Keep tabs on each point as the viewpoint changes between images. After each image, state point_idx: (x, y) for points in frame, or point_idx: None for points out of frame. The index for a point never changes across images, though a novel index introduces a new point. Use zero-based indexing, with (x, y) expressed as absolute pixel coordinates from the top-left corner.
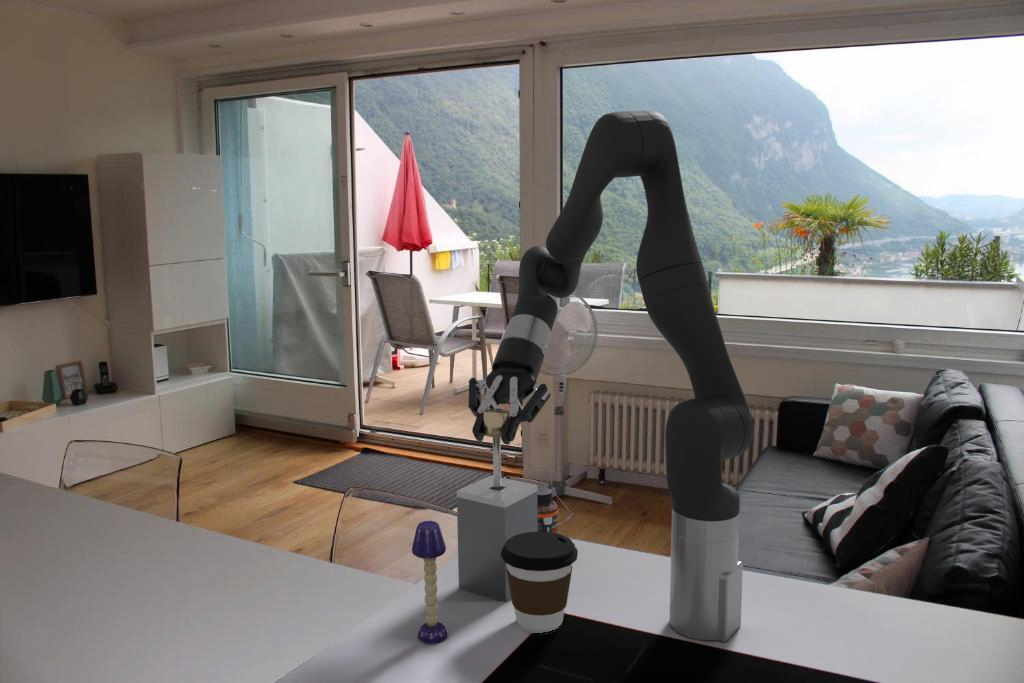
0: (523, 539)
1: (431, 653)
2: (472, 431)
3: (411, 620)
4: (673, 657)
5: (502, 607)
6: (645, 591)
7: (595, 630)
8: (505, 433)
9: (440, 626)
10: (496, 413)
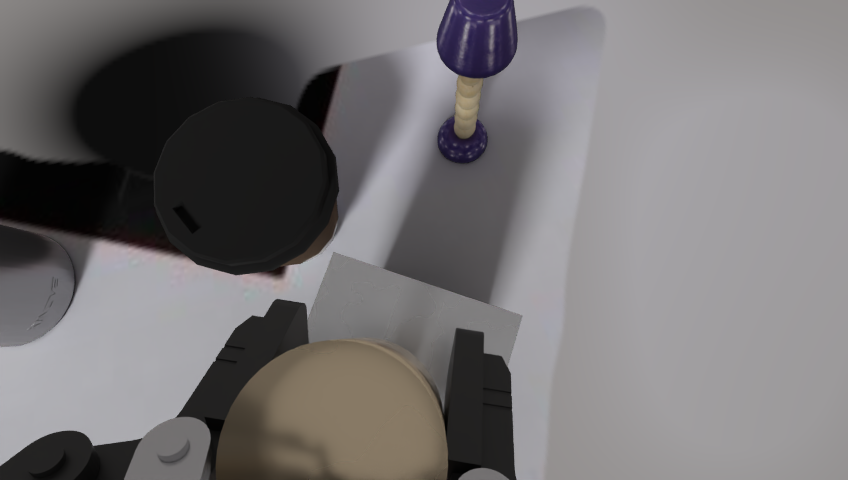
0: (282, 195)
1: (444, 93)
2: (503, 360)
3: (518, 180)
4: (77, 173)
5: (377, 266)
6: (117, 404)
7: None
8: (270, 313)
9: (448, 131)
10: (313, 388)
